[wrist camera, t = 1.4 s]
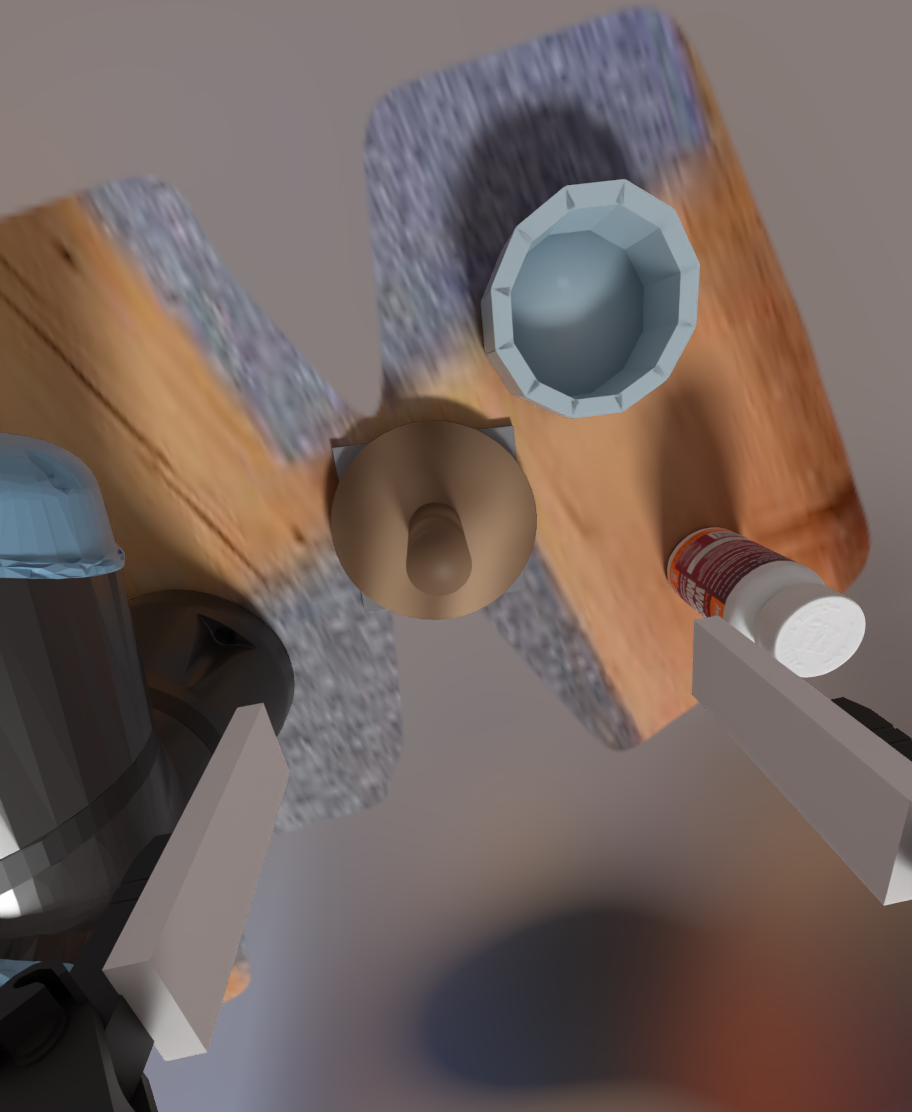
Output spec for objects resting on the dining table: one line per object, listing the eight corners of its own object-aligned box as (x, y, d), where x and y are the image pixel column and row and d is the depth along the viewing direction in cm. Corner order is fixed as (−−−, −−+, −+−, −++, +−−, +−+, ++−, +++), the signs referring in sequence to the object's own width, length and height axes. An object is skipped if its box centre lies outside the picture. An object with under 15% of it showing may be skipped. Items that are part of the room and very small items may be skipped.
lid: (354, 624, 36) (336, 690, 28) (313, 434, 31) (278, 452, 23) (538, 600, 36) (569, 658, 28) (527, 408, 31) (561, 417, 24)
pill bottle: (647, 569, 36) (741, 647, 26) (709, 508, 35) (835, 564, 24) (698, 613, 38) (805, 704, 27) (758, 557, 37) (896, 630, 26)
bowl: (489, 420, 32) (501, 427, 27) (472, 226, 28) (483, 194, 23) (651, 400, 32) (691, 403, 27) (657, 205, 28) (705, 170, 23)
